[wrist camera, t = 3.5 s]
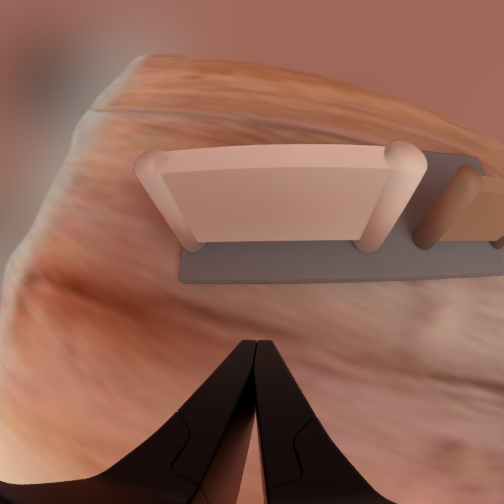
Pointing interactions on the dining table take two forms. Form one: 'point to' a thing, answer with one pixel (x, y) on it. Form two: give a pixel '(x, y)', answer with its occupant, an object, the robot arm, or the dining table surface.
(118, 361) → the dining table surface
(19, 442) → the dining table surface
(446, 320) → the dining table surface
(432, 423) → the dining table surface
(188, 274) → the board
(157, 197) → the fence gate
